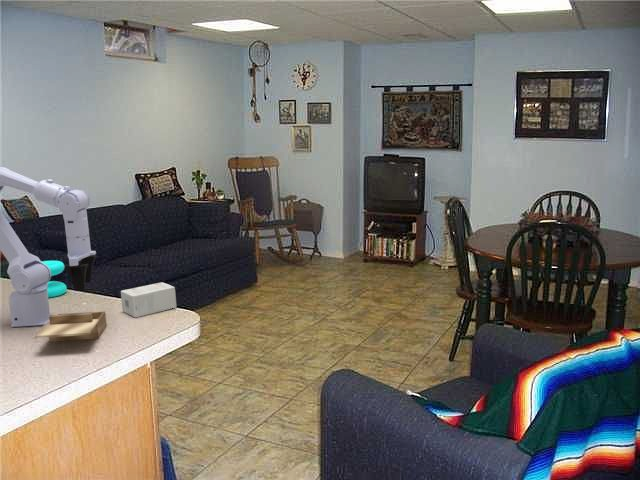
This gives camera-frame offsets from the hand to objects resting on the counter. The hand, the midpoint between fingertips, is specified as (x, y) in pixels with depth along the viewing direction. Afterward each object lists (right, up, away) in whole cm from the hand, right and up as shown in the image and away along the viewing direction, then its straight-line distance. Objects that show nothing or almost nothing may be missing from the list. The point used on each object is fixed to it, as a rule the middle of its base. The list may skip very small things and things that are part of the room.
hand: (83, 286), depth 179 cm
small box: (+9, -6, +8) cm, 13 cm away
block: (+1, -11, -5) cm, 12 cm away
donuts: (-22, -5, +32) cm, 38 cm away
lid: (+2, -9, -15) cm, 18 cm away
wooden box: (+1, -12, -6) cm, 13 cm away
